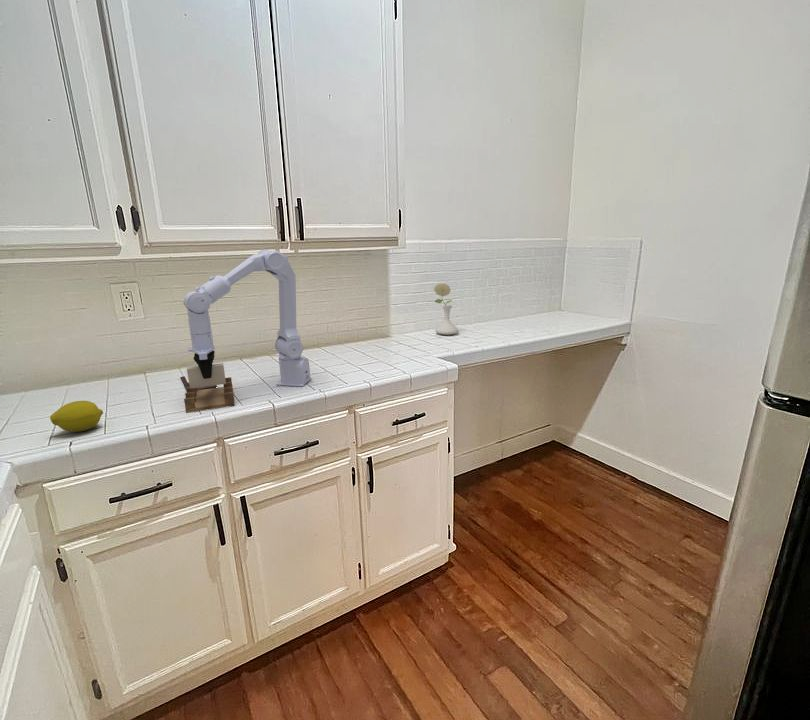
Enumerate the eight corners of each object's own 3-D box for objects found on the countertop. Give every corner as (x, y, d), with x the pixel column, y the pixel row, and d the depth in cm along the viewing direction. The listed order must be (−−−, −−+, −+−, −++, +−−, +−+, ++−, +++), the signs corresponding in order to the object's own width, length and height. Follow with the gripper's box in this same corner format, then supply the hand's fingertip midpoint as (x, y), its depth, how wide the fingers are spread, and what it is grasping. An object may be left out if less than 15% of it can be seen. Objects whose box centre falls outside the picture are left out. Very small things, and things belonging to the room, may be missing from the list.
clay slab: (225, 381, 135) (223, 363, 134) (225, 383, 133) (223, 365, 132) (190, 386, 132) (187, 367, 130) (189, 388, 130) (186, 369, 128)
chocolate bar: (187, 391, 140) (180, 376, 154) (187, 394, 140) (180, 379, 155) (217, 386, 144) (207, 372, 159) (217, 388, 145) (208, 374, 159)
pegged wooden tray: (232, 388, 144) (231, 377, 142) (234, 405, 129) (232, 392, 128) (189, 394, 139) (187, 382, 138) (186, 412, 125) (183, 399, 123)
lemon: (108, 421, 120) (101, 393, 118) (103, 432, 113) (97, 403, 111) (59, 428, 115) (52, 400, 113) (51, 441, 109) (43, 411, 106)
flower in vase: (462, 332, 218) (463, 282, 211) (452, 337, 208) (453, 284, 201) (438, 330, 224) (439, 281, 217) (428, 334, 215) (428, 283, 208)
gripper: (187, 329, 133) (194, 371, 137) (184, 339, 120) (191, 385, 124) (212, 327, 136) (218, 368, 139) (212, 336, 123) (218, 382, 127)
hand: (207, 376), depth 132 cm, fingers closed on clay slab, 2 cm apart
